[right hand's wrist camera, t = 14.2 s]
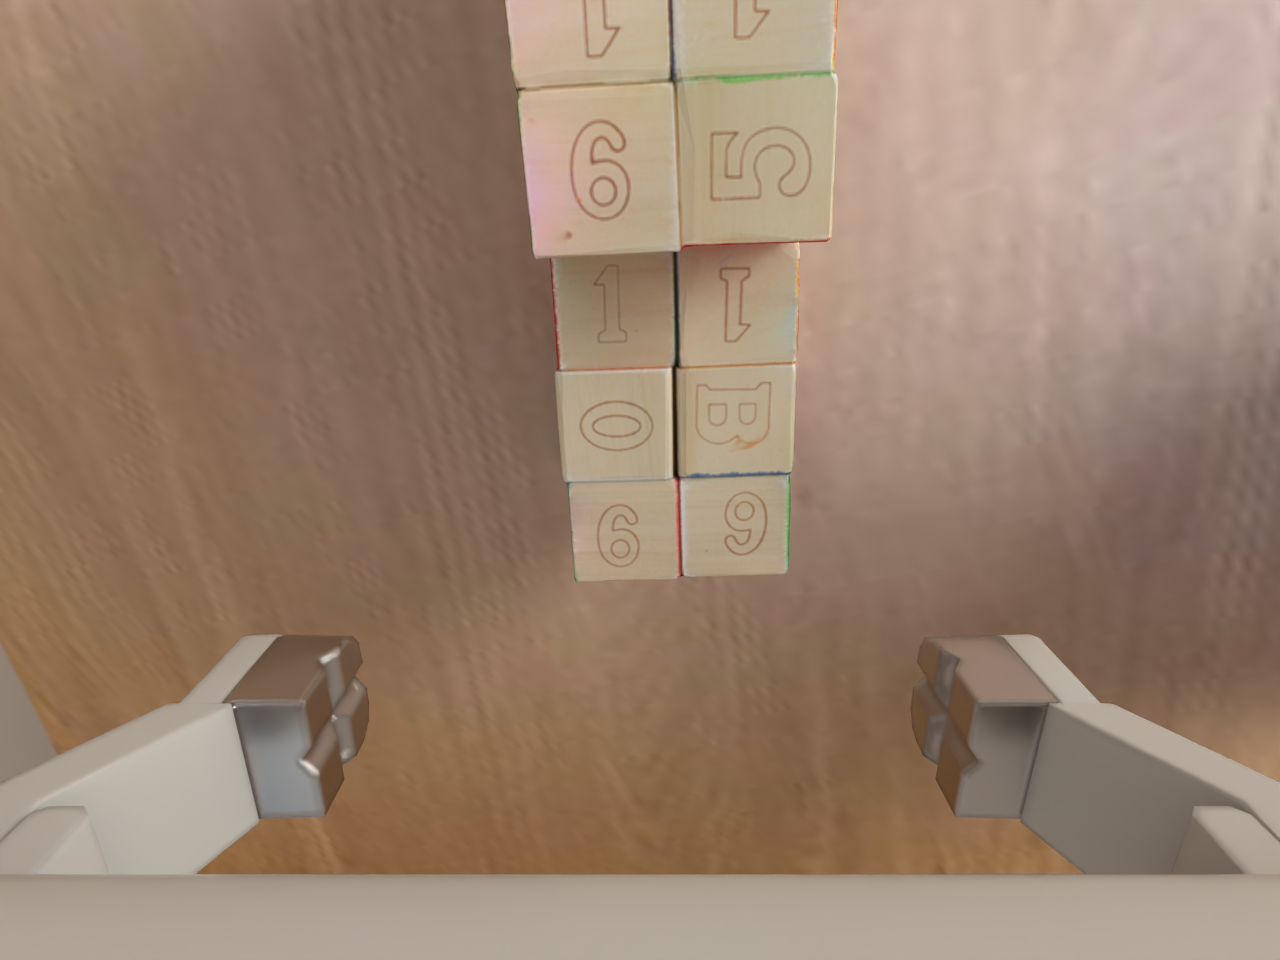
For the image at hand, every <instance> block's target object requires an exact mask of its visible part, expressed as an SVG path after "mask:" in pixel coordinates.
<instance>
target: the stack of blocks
mask: <svg viewBox="0 0 1280 960" xmlns="http://www.w3.org/2000/svg"><path fill="white" fill-rule="evenodd" d="M504 4H505V13H506V22H507V32H508V41H509V50H510V59H511V69H512V74H513V79H514V83H515V86H516V90H517V94H518V106H517V110H518V120H519V130H520V139H521V148H522V157H523V167H524V176H525V187H526V197H527V206H528V215H529V224H530V233H531V244H532V253H533V256H534V259H546V258H550V265H551V278H552V293H553V306H554V319H555V333H556V349H557V361H558V368H557V370H556V372H555V388H556V403H557V419H558V431H559V443H560V454H561V465H562V477H563V480H564V481H565V482H566V483H567V485H568V495H569V511H570V524H571V538H572V550H573V565H574V578H575V581H576V582H588V581H622V580H668V579H677V578H679V577H680V576H688V577H711V576H738V575H774V574H786V573H787V572H788V566H789V523H790V476H789V474H790V473H791V471H792V469H793V454H794V423H795V388H796V364H795V362H796V357H797V351H798V326H799V272H800V253H799V242H826V241H828V240H829V239H831V234H832V212H833V185H834V161H835V138H836V115H837V93H838V78H837V76H836V73H835V70H834V58H835V44H836V31H837V11H838V0H504Z"/></svg>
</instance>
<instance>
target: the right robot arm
mask: <svg viewBox="0 0 1280 960" xmlns="http://www.w3.org/2000/svg"><path fill="white" fill-rule="evenodd" d="M362 663H363V661H362V656H361V651H360V646H359V642H358V641H357V640H356V639H355V638H354V637H353V636H322V635H284V636H283V635H281V634H269V635H248V636H244V637H242V638H241V639H240V640H239V641H238V642H237V643H236V644H235V645H234V646H233V647H232V648H231V649H230V650H229V651H228V652H227V653H226V654H225V656H224V657H223V658H222V659H221V660H220V661H219V662H218V663H217V664H216V665H215V666H214V667H213V668H212V669H211V670H210V671H209V673H208V674H207V675H206V676H205V677H204V678H203V679H202V680H201V681H200V682H199V683H198V684H197V685H196V686H195V687H194V688H193V690H192V691H191V692H190V693H189V694H188V695H187V696H186V697H185V698H184V699H183V700H182V701H181V702H180V703H171V704H166V705H164V706H161V707H159V708H157V709H155V710H153V711H151V712H149V713H147V714H144V715H142V716H140V717H138V718H136V719H134V720H132V721H130V722H127V723H125V724H123V725H121V726H119V727H117V728H115V729H113V730H110V731H108V732H106V733H104V734H102V735H100V736H98V737H96V738H93V739H91V740H89V741H87V742H85V743H83V744H81V745H79V746H76V747H74V748H72V749H70V750H68V751H66V752H64V753H62V754H59V755H57V756H55V757H53V758H51V759H49V760H47V761H45V762H43V763H40V764H38V765H36V766H34V767H32V768H30V769H28V770H26V771H23V772H21V773H19V774H17V775H15V776H13V777H11V778H9V779H6V780H4V781H2V782H0V960H1280V782H1277V781H1275V780H1273V779H1271V778H1269V777H1267V776H1265V775H1263V774H1260V773H1258V772H1256V771H1254V770H1252V769H1250V768H1248V767H1246V766H1244V765H1241V764H1239V763H1237V762H1235V761H1233V760H1231V759H1229V758H1227V757H1224V756H1222V755H1220V754H1218V753H1216V752H1214V751H1212V750H1210V749H1208V748H1205V747H1203V746H1201V745H1199V744H1197V743H1195V742H1193V741H1191V740H1188V739H1186V738H1184V737H1182V736H1180V735H1178V734H1176V733H1174V732H1172V731H1169V730H1167V729H1165V728H1163V727H1161V726H1159V725H1157V724H1155V723H1152V722H1150V721H1148V720H1146V719H1144V718H1142V717H1140V716H1138V715H1136V714H1133V713H1131V712H1129V711H1127V710H1125V709H1123V708H1121V707H1119V706H1116V705H1114V704H1110V703H1100V702H1099V701H1098V700H1097V699H1096V698H1095V697H1094V696H1093V695H1092V694H1091V693H1090V692H1089V691H1088V689H1087V688H1086V687H1085V686H1084V685H1083V684H1082V683H1081V682H1080V681H1079V680H1078V679H1077V678H1076V677H1075V676H1074V675H1073V674H1072V672H1071V671H1070V670H1069V669H1068V668H1067V667H1066V666H1065V665H1064V664H1063V663H1062V662H1061V661H1060V660H1059V659H1058V658H1057V656H1056V655H1055V654H1054V653H1053V652H1052V651H1051V650H1050V649H1049V648H1048V647H1047V646H1046V645H1045V644H1044V643H1043V642H1042V641H1041V639H1040V638H1038V637H1036V636H1033V635H1031V634H1017V635H995V636H958V637H924V639H923V642H922V644H921V646H920V650H919V655H918V661H917V663H918V664H919V666H920V668H921V669H922V671H923V673H924V674H925V677H924V678H923V679H922V680H921V681H920V682H919V683H918V684H917V685H916V686H915V687H914V688H913V693H912V702H911V717H912V728H913V731H914V735H915V738H916V741H917V744H918V746H919V748H920V750H921V752H922V754H923V756H925V757H926V758H928V759H929V760H931V761H932V762H934V763H935V764H937V765H938V768H937V774H936V781H937V783H938V785H939V787H940V788H941V790H942V792H943V794H944V796H945V798H946V800H947V802H948V804H949V806H950V807H951V809H952V811H953V813H954V815H955V817H975V818H1011V819H1021V821H1020V822H1021V823H1023V824H1024V825H1025V826H1026V827H1028V828H1029V829H1030V830H1031V831H1032V832H1034V833H1035V834H1036V835H1037V836H1039V837H1040V838H1041V839H1042V840H1044V841H1045V842H1046V843H1047V844H1048V845H1050V846H1051V847H1052V848H1053V849H1055V850H1056V851H1057V852H1058V853H1060V854H1061V855H1062V856H1063V857H1064V858H1066V859H1067V860H1068V861H1069V862H1071V863H1072V864H1073V865H1074V866H1076V867H1077V868H1078V869H1079V870H1080V871H1082V872H1083V873H1084V874H196V873H197V872H198V871H200V870H201V869H202V868H203V867H205V866H206V865H207V864H208V863H210V862H211V861H212V860H213V859H215V858H216V857H217V856H218V855H219V854H221V853H222V852H223V851H224V850H226V849H227V848H228V847H229V846H231V845H232V844H233V843H234V842H236V841H237V840H238V839H239V838H240V837H242V836H243V835H244V834H245V833H247V832H248V831H249V830H250V829H252V828H253V827H254V826H255V825H256V824H258V823H259V819H269V818H303V817H325V815H326V813H327V811H328V809H329V808H330V806H331V804H332V802H333V800H334V798H335V796H336V794H337V792H338V790H339V789H340V787H341V785H342V783H343V781H344V774H343V768H342V765H343V764H345V763H346V762H348V761H349V760H351V759H352V758H354V757H355V756H357V754H358V752H359V750H360V748H361V746H362V744H363V742H364V739H365V734H366V730H367V725H368V721H369V700H368V693H367V688H366V687H365V686H364V685H363V684H362V683H361V682H360V681H359V680H358V679H357V678H356V677H355V674H356V673H357V671H358V669H359V668H360V666H361V664H362Z"/></svg>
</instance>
